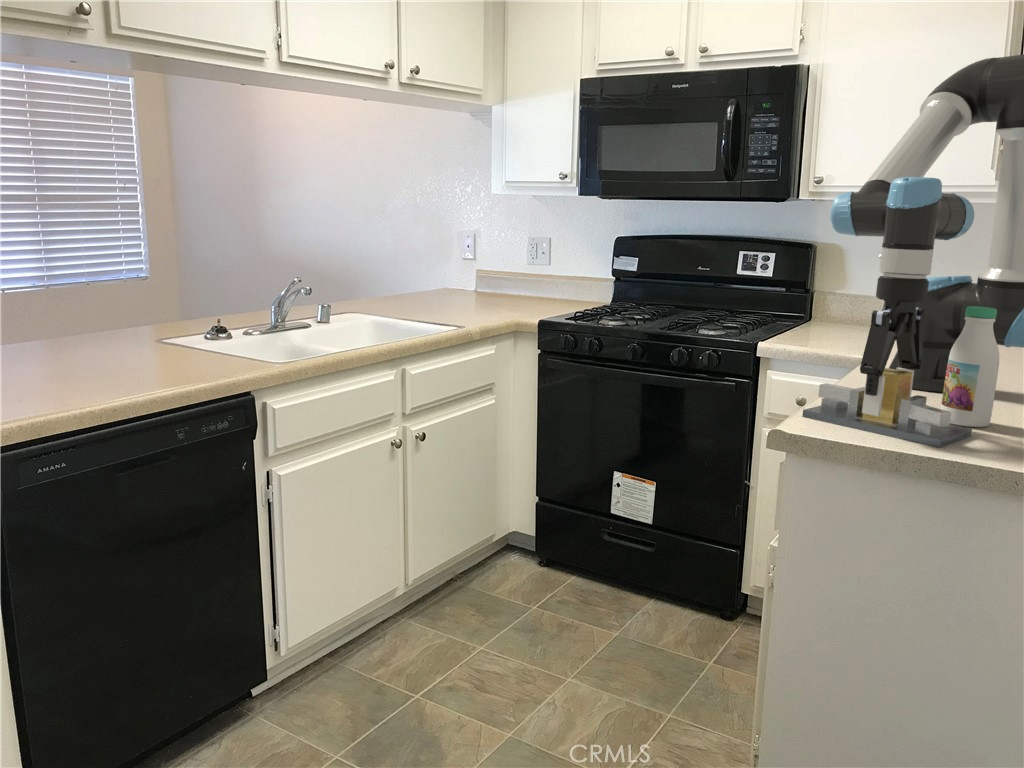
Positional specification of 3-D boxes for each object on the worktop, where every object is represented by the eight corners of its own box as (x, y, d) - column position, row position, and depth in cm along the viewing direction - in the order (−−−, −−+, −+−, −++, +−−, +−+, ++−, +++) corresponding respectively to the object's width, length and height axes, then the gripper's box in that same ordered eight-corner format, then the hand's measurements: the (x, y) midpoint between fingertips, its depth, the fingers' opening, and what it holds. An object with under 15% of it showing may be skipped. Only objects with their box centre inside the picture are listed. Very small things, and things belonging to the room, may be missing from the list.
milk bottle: (972, 417, 146) (990, 305, 142) (999, 429, 139) (1018, 310, 135) (930, 416, 146) (946, 304, 142) (954, 427, 138) (972, 309, 134)
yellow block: (905, 419, 138) (912, 371, 136) (892, 423, 134) (898, 374, 133) (876, 413, 141) (882, 366, 140) (862, 417, 138) (868, 369, 136)
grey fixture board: (836, 407, 150) (840, 377, 149) (971, 436, 133) (976, 402, 132) (801, 416, 143) (805, 384, 141) (939, 447, 126) (945, 411, 124)
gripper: (911, 272, 143) (894, 398, 147) (847, 275, 128) (830, 414, 133) (956, 276, 137) (937, 406, 142) (895, 279, 123) (876, 424, 127)
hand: (886, 410), depth 137 cm, fingers open, 10 cm apart
